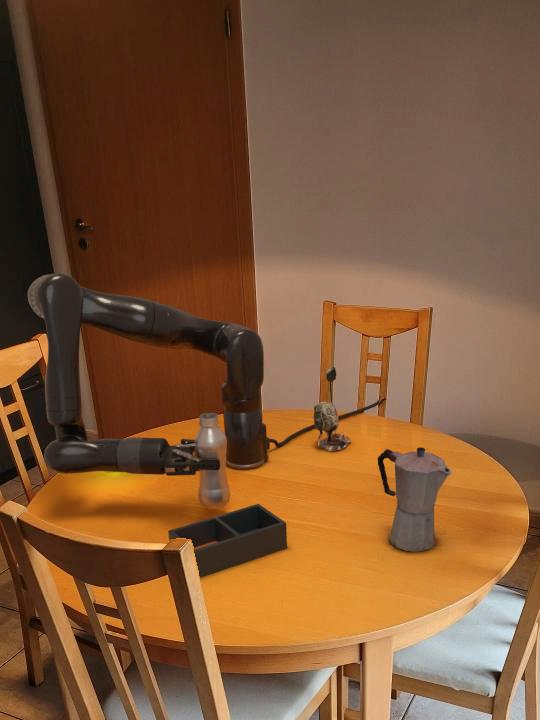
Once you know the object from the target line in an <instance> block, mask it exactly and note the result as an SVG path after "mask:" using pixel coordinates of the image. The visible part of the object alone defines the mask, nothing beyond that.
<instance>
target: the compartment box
mask: <svg viewBox="0 0 540 720" xmlns="http://www.w3.org/2000/svg"><path fill="white" fill-rule="evenodd" d="M287 533H288V532H287V522H286V521H284V520H283V519H281V518H280V517H279V516H277V515H276V514H274V513H273V512H271V511H270V510H268V509H267V508H266V507H264V506H263V505H261V504H260V503H256V504H252V505H250V506H249V505H248V506H246V507H243V508H239V509H235V510H233V511H230V512H226V513H223V514H220V515H216V516H213V517H209V518H205V519H202V520H199V521H196V522H192V523H190V524H186V525H183V526H180V527H175V528H172V529H170V530H168V533H167V534H168V541H170V540H171V539H176V538H186V539H191V540H192V543H193V546H194V553H195V557H196V562H197V566H198V570H199V576H200V578H202V577H205V576H206V577H207V576H209V575H212V574H214V573H218V572H221V571H223V570H224V571H225V570H227V569H230V568H232V567H235V566H238V565H242V564H244V563H248V562H251V561H253V560H256V559H259V558H262V557H265V556H269V555H272V554H274V553H277V552H279V551H282V550H283V551H284V550H286V549H288V540H287V539H288V538H287V536H288V535H287Z"/></svg>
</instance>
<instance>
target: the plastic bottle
mask: <svg viewBox="0 0 540 720" xmlns="http://www.w3.org/2000/svg"><path fill="white" fill-rule="evenodd" d="M198 418H199V419H198V420H199V423H198V424H199V427H200V428H199V430H198V431H197V433H196V435H195V438H194V440H195V441H194V442H195V448H196V452H197V457H198V458H200V460H201V459H202V458H209V459H219V460H220V469H219V470H202V469H201V471H199V476H198V477H199V482H198V483H199V484H198V492H197V497H198V502H199V504H200V505H201V506H202V507H203V508H205V509H208V510H218V509H222V508H225V507H226V506H228V505H229V503H230V500H231V490H230V486H229V484H228V476H227V464H226V449H227V438H226V435H225V432H224V430H222V429H221V428H220V426H219V425H220V420H219V415H218V413H215V412H204V413H201V414H200V415H198Z"/></svg>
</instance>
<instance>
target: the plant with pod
mask: <svg viewBox="0 0 540 720" xmlns="http://www.w3.org/2000/svg"><path fill="white" fill-rule="evenodd" d="M325 372H326V373H325V378H326V380H327V382H329V395H330V401H320V402H319V403H316V404H315V405H314V407H313V423H314V424H315V428H314V429H315V430H316V431H317V430H318V431H319V435H318V437H317V438H318V444H317V446H318V447H319V448H320V449H322V450H324V451H328V452H329V451H330V452H335V451H336V452H337V451H340V450H342V449H343V448H346V447H347V446H348V444H350V442H352V439H350V437H349V436H348V435H347V436H345V434H344V433H343V432H339V433H337V432H336V431H337V430H338V428H339V426H340V425H339V424H340V423H339V420H340V419H339V418H338V416H339V415H338V411H337V407H336V405H335V403H333V393H332V383H333V382H334V381H335V380H337V370H336V367H335V366H332V365H331V366H330V367H328V369H327V370H326V371H325ZM338 419H339V420H338ZM314 424H313V425H314ZM323 432H324V433H325V434H326V436H327V437H326V438H323V439H322V437H323V434H324V433H323Z"/></svg>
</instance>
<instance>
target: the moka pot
mask: <svg viewBox="0 0 540 720" xmlns="http://www.w3.org/2000/svg"><path fill="white" fill-rule="evenodd" d="M385 459H389V461H390V462H392V463H394V479H395V481H394V482H395V490H391V489H390V486H389V483H388V475H387V471H386V466H385V463H384V460H385ZM445 463H446V461H445V459H444V458H442V457H440V456H438V455H436V454H434V453H432V452H426V448H425V447H421V446H420V447H417V448H416V451H409V452H405V453H402V452H400V451H393V450H391V449H389V448H386V449H385V450H383V452H381V453H380V455H378V456H377V466H378V470H379V472H380V477H381V480H382V485H383V491H384V493H385V494H386V495H389V496H391V497H396V504H397V505H396V508H395V512H394V517H393V521H392V525H391V529H390V533H389V539H388V540H389V542H390V543H391V544H392V546H394V547H395V548H397V549H399V550H402V551H405V552H411V553H412V552H413V553H416V552H417V553H418V552H420V553H421V552H425V551H428V550H429V549H431V548H432V547H433V546H434V544H435V539H436V536H435V535H436V534H435V505H436V502H437V498H438V494H439V492H440V491H439V490H440V489H441V488H442V486H443V484H444V483H445V482H446V480H447V479H448V477H449V476H451V475H452V474H453V472H452V469H450V467H448V466H447V465H445Z"/></svg>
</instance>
